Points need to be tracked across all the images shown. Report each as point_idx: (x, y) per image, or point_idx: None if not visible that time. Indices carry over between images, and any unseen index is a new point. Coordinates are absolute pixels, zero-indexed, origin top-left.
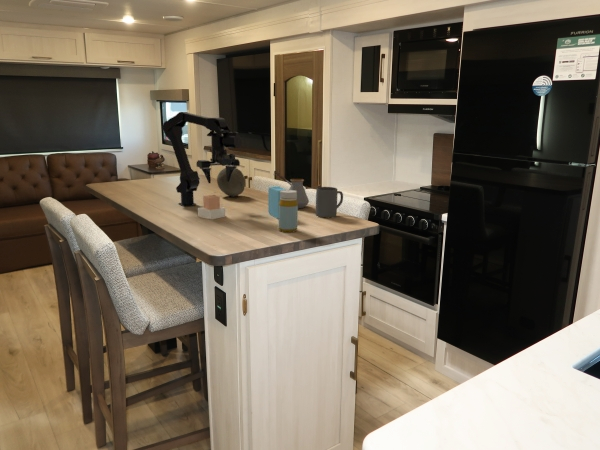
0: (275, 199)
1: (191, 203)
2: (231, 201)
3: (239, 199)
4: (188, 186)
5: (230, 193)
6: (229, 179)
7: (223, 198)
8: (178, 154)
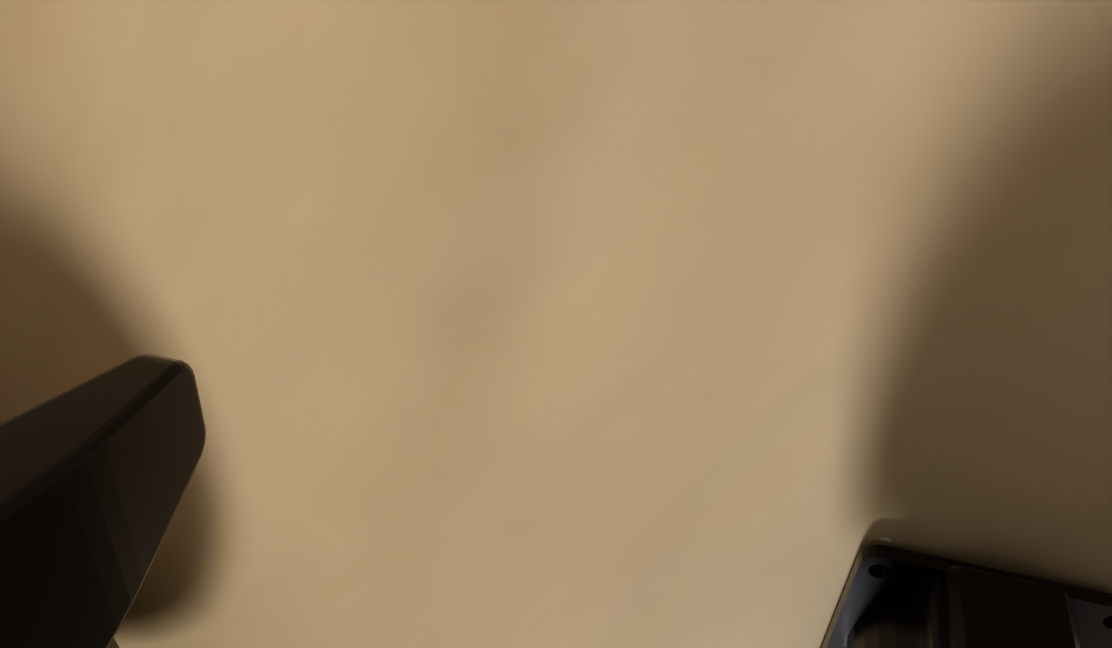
0: None
1: (998, 588)
2: None
3: (3, 404)
4: None
5: None
6: (47, 403)
7: (209, 583)
8: None
